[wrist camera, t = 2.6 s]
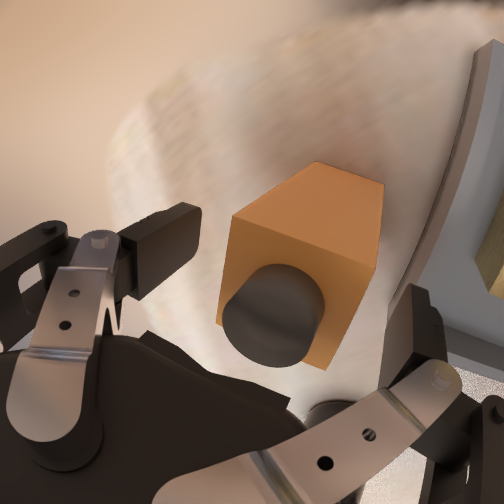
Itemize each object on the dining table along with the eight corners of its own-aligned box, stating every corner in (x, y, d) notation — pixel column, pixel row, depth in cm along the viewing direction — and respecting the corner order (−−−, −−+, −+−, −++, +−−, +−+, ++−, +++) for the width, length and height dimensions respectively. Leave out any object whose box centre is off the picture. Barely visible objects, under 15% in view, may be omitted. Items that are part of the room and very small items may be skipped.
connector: (384, 184, 16) (370, 300, 6) (362, 248, 18) (312, 405, 8) (315, 161, 17) (202, 235, 7) (299, 225, 19) (192, 350, 9)
